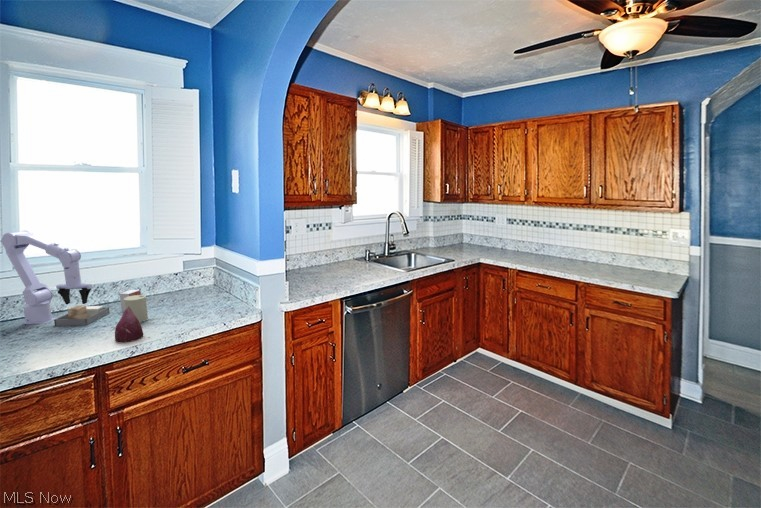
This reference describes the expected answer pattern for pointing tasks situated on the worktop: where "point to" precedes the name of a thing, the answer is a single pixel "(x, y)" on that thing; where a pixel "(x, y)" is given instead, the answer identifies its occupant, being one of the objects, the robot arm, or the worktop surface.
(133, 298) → the can
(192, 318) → the worktop surface
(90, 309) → the white box
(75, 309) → the wood block
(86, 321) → the tray
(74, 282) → the robot arm
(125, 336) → the vegetable
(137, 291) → the small box
